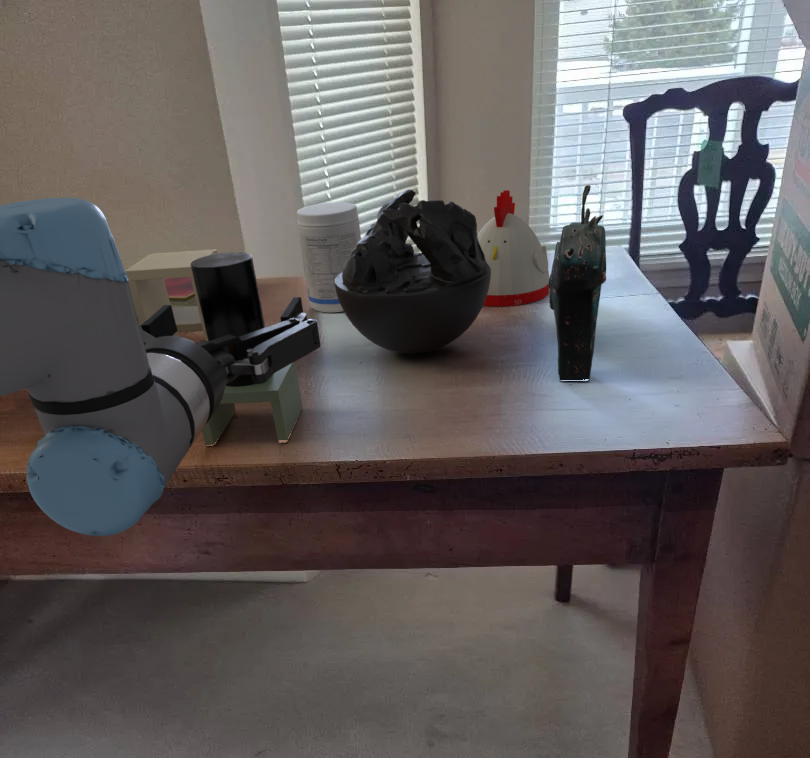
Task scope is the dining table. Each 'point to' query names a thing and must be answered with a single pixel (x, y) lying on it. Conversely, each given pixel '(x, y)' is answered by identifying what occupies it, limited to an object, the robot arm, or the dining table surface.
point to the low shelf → (275, 390)
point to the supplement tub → (326, 249)
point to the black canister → (228, 298)
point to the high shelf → (153, 292)
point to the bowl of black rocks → (415, 276)
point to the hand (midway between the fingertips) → (234, 314)
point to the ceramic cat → (577, 292)
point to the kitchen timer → (513, 258)
